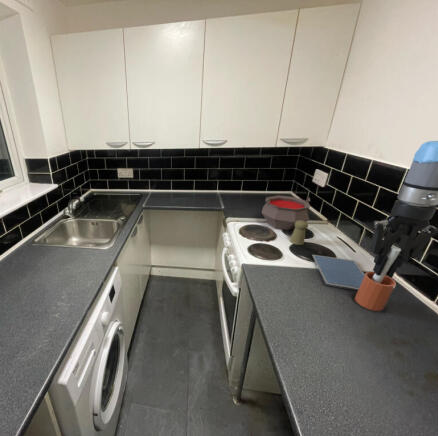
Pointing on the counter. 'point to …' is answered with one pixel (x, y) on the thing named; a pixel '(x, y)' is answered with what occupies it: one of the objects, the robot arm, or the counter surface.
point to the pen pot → (374, 292)
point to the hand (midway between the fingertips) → (382, 273)
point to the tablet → (339, 272)
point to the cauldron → (285, 211)
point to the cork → (299, 232)
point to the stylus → (387, 263)
